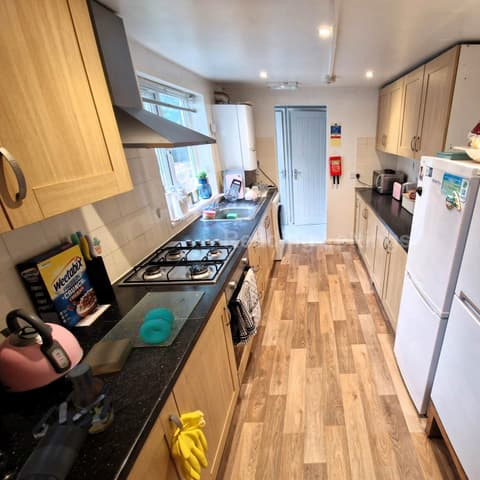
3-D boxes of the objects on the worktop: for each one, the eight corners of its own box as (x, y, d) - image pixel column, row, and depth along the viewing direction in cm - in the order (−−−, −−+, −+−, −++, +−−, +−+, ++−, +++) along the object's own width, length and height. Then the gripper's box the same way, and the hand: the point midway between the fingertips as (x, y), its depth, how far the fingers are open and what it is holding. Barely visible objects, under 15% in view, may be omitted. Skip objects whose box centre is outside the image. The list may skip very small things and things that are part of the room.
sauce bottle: (91, 417, 72) (68, 361, 65) (118, 409, 75) (99, 354, 68) (82, 440, 67) (56, 382, 60) (112, 431, 69) (91, 374, 62)
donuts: (176, 324, 108) (172, 304, 104) (172, 341, 99) (167, 320, 96) (148, 329, 105) (143, 309, 101) (142, 347, 96) (135, 325, 92)
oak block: (81, 377, 84) (77, 368, 83) (98, 352, 94) (94, 343, 92) (121, 370, 87) (117, 361, 85) (133, 346, 97) (130, 338, 95)
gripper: (88, 437, 54) (121, 371, 69) (-2, 458, 50) (54, 384, 65) (99, 460, 57) (128, 392, 72) (15, 482, 53) (64, 405, 68)
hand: (93, 388), depth 68 cm, fingers closed on sauce bottle, 6 cm apart
